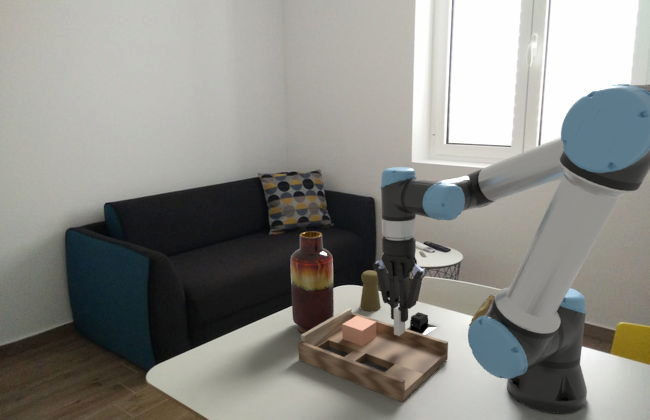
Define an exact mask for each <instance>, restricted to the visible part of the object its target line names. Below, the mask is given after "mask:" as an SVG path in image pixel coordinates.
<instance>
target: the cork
mask: <svg viewBox="0 0 650 420" xmlns="http://www.w3.org/2000/svg"><path fill="white" fill-rule="evenodd" d="M361 282H362V290H361V295H360V296H361V297H360V305H359V308H360V310H362V311H364V312H368V313H370V312H372V313H373V312H377V311H380V310H381V308H382V307H381V301H380V300H381V299H380V293H379V281H378V276H377V272H376V270H369V269H368V270H365V271H363V272H362V273H361Z"/></svg>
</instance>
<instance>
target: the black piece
mask: <svg viewBox="0 0 650 420" xmlns="http://www.w3.org/2000/svg"><path fill="white" fill-rule="evenodd" d="M409 322H410V324H409V325H410V326H409V327H407V329H408V330H411V331H414V332H417V333H421V334H424V335H427V334H430V332H432V331H434V330H435V329H436V328H438V326H437V325H433V324H430V323H429V317H428V314H425V313H422V312H419V311H418V312H417V313H415V314H413V315H412V316H411V317H410V320H409Z"/></svg>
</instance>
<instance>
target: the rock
mask: <svg viewBox="0 0 650 420" xmlns="http://www.w3.org/2000/svg"><path fill="white" fill-rule="evenodd" d="M494 297H495V296H494V295H492V294H490V295H489V296H488V297H487V298H486V299H485V300H484V301H483V302H482V304H481V305H480V306H479V309H478V310H477V311H475V314H474V315H473V317H472V318H471V320H470V321H471V322H470V323H469V325H468V326H469V327H470V325H471V324H472V322H473V321H475V320H476V319H477V318H478V317H480V316H484V315H485V314H486V313H487V312H488V310H489V308H490V306H491V304H492V302H493V300H494Z"/></svg>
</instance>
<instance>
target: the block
mask: <svg viewBox="0 0 650 420" xmlns="http://www.w3.org/2000/svg"><path fill="white" fill-rule="evenodd" d="M342 335H343V339H344V340H347V341H349V342H352V343H355V344H358V345H361V346H363V345H365V344H366V343H368V342H369V341H371V340H372V339H374V338H375V337H376V322H375V321H372V320H369V319H365V318H362V317H359V316H355V317H354V318H352V319H350V320H349V321H347V322H345V323H344V324H342Z"/></svg>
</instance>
